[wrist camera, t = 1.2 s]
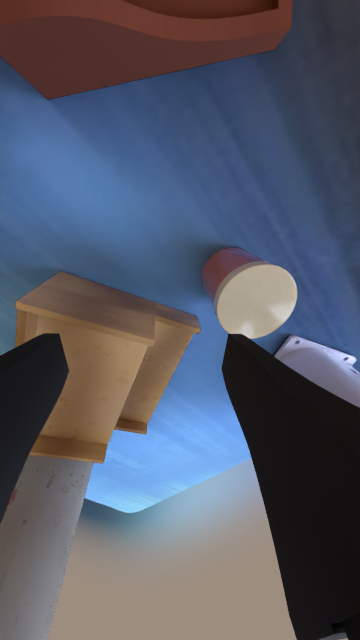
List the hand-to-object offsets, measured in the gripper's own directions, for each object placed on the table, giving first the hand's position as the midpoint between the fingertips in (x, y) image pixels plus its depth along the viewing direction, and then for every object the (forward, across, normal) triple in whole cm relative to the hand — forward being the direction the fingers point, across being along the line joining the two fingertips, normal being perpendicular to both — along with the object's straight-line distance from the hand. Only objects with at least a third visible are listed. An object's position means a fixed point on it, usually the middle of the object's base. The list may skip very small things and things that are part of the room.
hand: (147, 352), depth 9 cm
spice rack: (+10, +4, +8) cm, 13 cm away
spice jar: (+10, -6, -1) cm, 12 cm away
